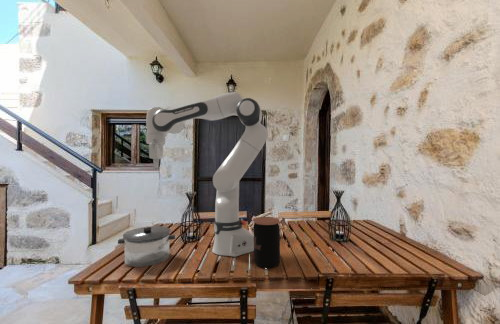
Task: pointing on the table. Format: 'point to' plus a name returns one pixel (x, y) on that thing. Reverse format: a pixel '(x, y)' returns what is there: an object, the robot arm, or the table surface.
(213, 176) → the robot arm
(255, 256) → the coffee jar
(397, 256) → the table surface
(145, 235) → the lid
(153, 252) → the pot
